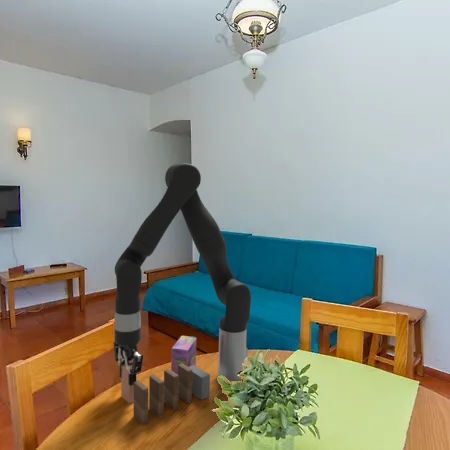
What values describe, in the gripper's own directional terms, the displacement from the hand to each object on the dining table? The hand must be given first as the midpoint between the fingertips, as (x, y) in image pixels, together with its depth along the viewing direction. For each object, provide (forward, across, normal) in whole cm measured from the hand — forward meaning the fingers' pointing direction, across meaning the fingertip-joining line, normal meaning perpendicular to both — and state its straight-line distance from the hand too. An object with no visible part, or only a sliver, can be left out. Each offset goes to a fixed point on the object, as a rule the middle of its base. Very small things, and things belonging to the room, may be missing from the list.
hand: (127, 380), depth 106 cm
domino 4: (+6, -11, -13) cm, 18 cm away
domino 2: (+6, -11, -3) cm, 13 cm away
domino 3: (+6, -11, -8) cm, 15 cm away
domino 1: (+6, -11, +2) cm, 13 cm away
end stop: (+6, -11, -18) cm, 22 cm away
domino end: (+6, 0, 0) cm, 6 cm away
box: (+6, 0, -21) cm, 22 cm away
